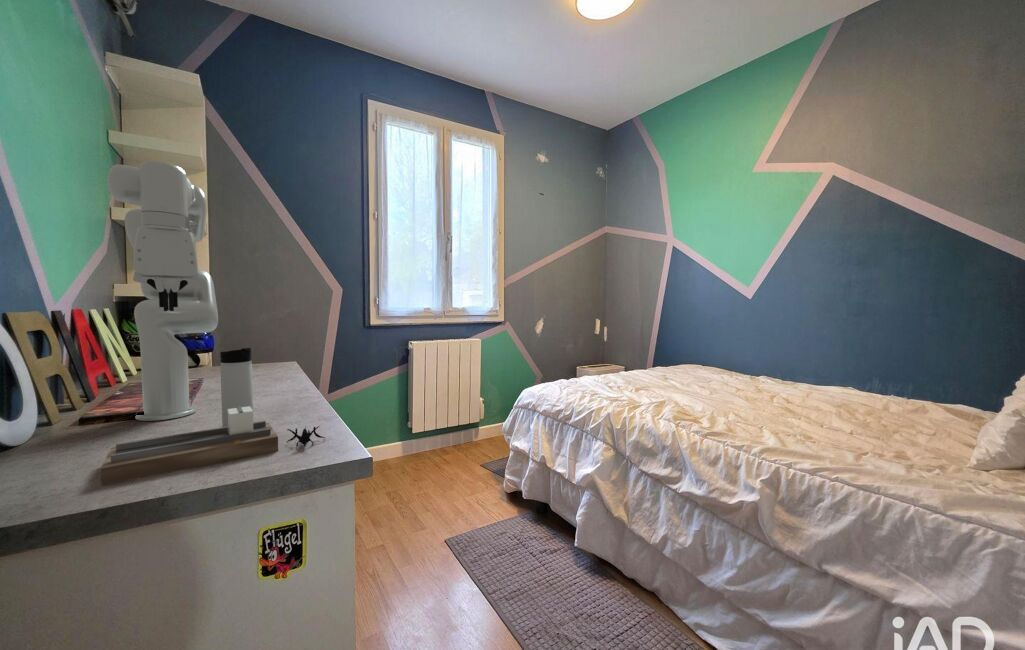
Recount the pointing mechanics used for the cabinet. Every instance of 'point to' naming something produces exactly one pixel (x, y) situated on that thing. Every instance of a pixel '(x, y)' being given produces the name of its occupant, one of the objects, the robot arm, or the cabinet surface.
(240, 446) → the fader console
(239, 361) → the travel mug
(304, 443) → the creature
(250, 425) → the fader tab
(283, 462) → the cabinet surface
